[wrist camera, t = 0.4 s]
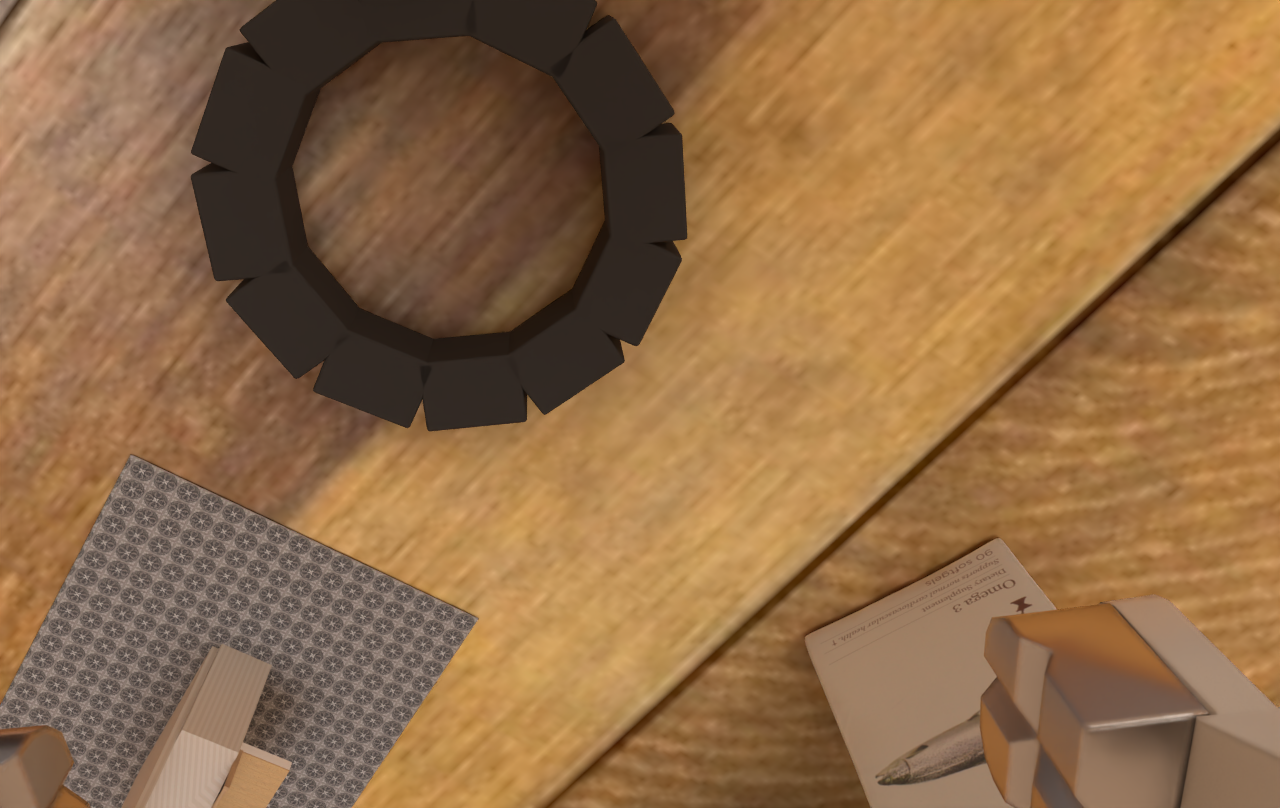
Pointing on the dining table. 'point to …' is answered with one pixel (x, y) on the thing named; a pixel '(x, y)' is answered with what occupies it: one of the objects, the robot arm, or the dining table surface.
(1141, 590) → the dining table surface
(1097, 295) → the dining table surface
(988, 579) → the white packaging box
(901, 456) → the dining table surface
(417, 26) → the rubber collar
